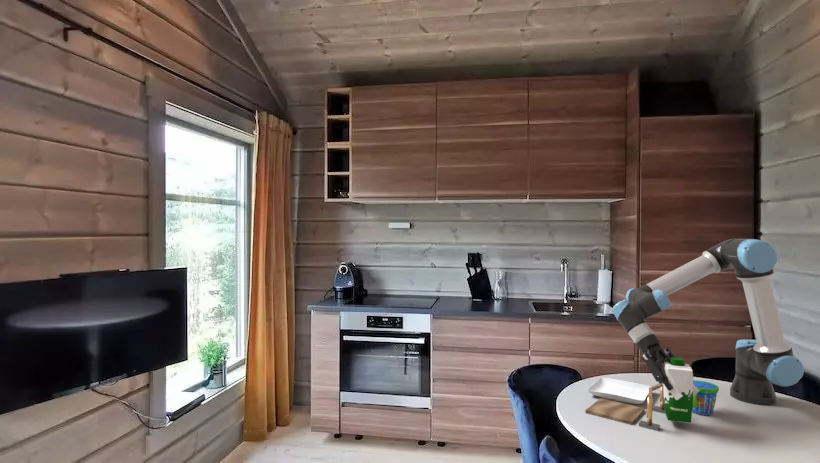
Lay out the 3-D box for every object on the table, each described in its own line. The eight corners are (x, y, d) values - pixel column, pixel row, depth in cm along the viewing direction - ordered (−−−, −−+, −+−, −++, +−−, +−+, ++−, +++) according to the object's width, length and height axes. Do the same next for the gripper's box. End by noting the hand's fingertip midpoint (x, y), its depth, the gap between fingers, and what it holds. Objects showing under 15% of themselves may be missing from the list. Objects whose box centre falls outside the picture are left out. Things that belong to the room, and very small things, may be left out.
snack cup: (697, 403, 189) (697, 376, 189) (726, 412, 181) (727, 384, 180) (675, 411, 181) (675, 384, 181) (705, 421, 172) (706, 392, 172)
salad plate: (600, 383, 213) (600, 375, 212) (654, 394, 200) (654, 385, 200) (585, 397, 195) (586, 389, 195) (644, 410, 183) (644, 400, 183)
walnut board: (644, 411, 181) (644, 408, 181) (632, 424, 169) (632, 421, 169) (600, 400, 191) (600, 398, 191) (585, 412, 179) (585, 410, 179)
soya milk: (689, 414, 172) (690, 357, 171) (694, 424, 164) (695, 365, 163) (661, 411, 175) (662, 355, 174) (665, 421, 167) (665, 362, 166)
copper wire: (672, 412, 180) (672, 383, 180) (657, 430, 164) (658, 399, 164) (654, 408, 184) (655, 380, 184) (638, 425, 168) (639, 395, 167)
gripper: (655, 340, 188) (697, 395, 174) (619, 348, 177) (661, 407, 163) (669, 329, 183) (713, 384, 169) (632, 336, 172) (676, 396, 159)
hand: (687, 395), depth 166 cm, fingers closed on soya milk, 8 cm apart
